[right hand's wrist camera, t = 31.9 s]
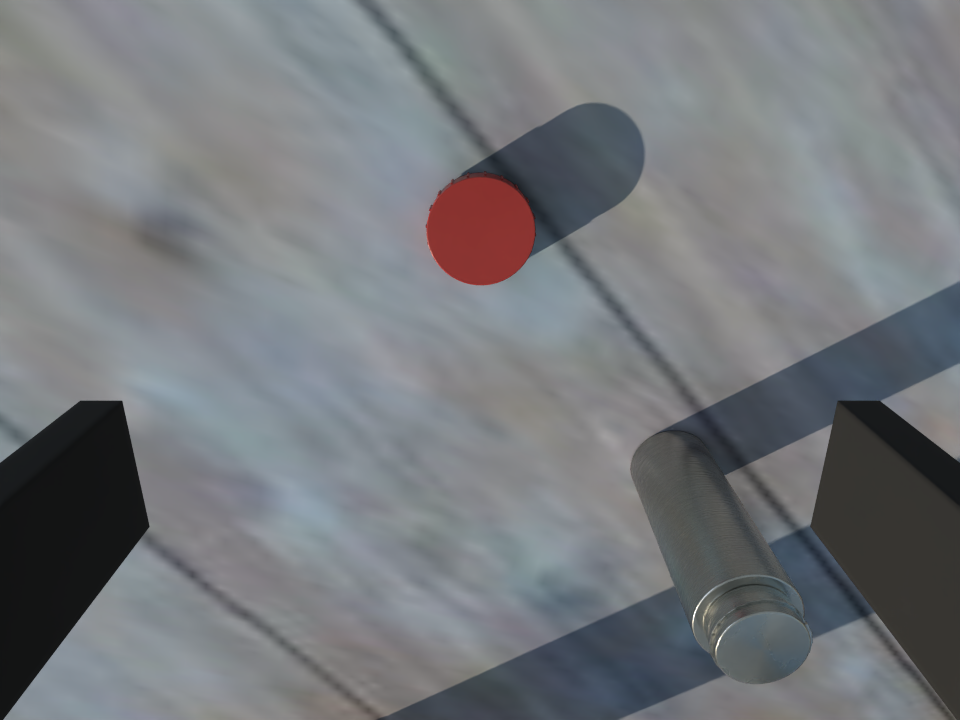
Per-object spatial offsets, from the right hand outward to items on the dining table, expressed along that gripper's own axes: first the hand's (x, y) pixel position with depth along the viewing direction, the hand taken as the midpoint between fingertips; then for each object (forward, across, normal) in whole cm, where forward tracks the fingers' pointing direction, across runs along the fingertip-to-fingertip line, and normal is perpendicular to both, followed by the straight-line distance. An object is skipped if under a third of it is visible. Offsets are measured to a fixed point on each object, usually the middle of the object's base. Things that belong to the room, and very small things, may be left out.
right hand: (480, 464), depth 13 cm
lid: (+24, 0, 0) cm, 24 cm away
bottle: (+26, +12, -15) cm, 32 cm away
